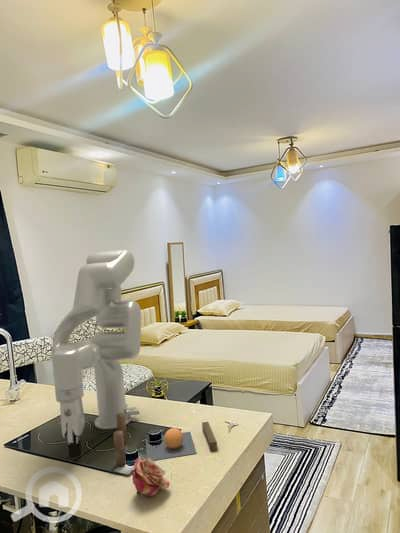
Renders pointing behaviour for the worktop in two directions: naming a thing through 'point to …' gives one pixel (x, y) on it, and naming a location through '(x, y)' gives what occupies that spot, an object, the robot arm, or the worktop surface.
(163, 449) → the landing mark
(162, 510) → the worktop surface
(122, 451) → the near post
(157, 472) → the flower
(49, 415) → the worktop surface
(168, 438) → the ball
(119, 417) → the far post
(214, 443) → the brown wooden bar
